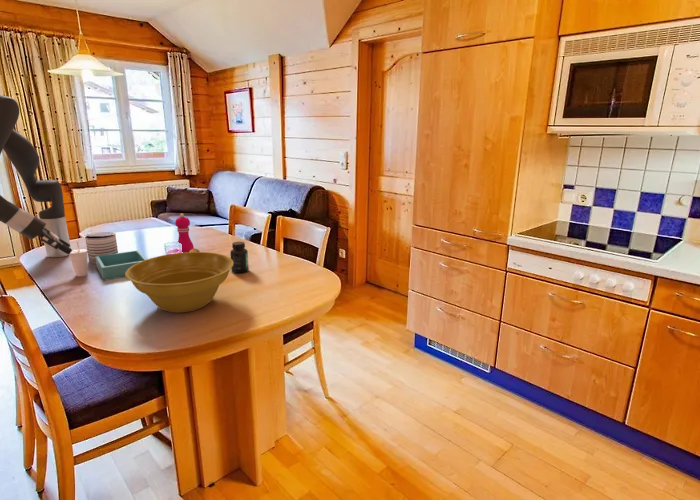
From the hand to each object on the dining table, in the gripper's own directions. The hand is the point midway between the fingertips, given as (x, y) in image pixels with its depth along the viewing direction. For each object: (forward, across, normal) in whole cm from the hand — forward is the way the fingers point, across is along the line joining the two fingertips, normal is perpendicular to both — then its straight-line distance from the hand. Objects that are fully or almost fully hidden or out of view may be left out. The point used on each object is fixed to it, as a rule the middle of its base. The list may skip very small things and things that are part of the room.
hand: (69, 249), depth 157 cm
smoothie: (+9, 0, +6) cm, 11 cm away
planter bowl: (+27, -52, -11) cm, 59 cm away
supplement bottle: (+46, -31, -31) cm, 64 cm away
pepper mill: (+38, +1, -22) cm, 44 cm away
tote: (+19, -3, -4) cm, 20 cm away
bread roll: (+36, -19, -20) cm, 46 cm away
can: (+16, +17, -1) cm, 24 cm away
